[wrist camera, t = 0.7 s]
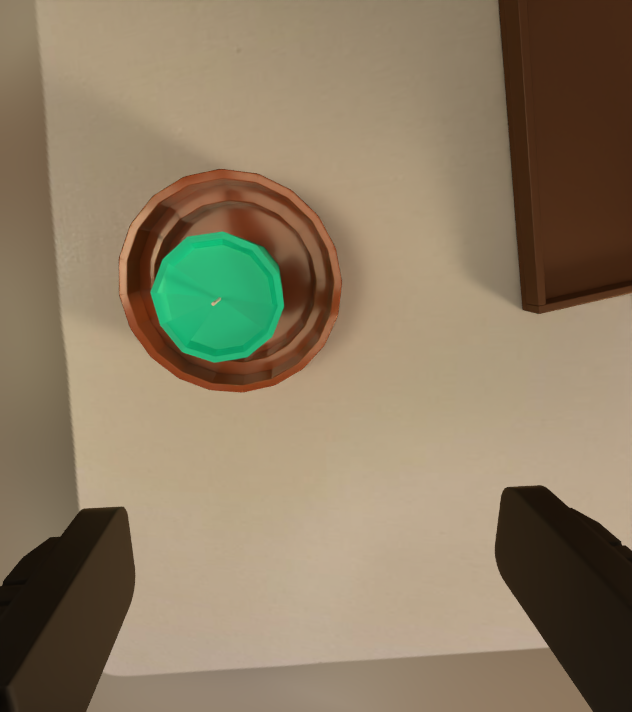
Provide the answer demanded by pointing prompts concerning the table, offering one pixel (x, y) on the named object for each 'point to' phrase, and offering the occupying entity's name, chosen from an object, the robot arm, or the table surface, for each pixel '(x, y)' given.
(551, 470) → the table surface
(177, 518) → the table surface
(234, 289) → the candle
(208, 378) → the bowl
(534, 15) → the tray
